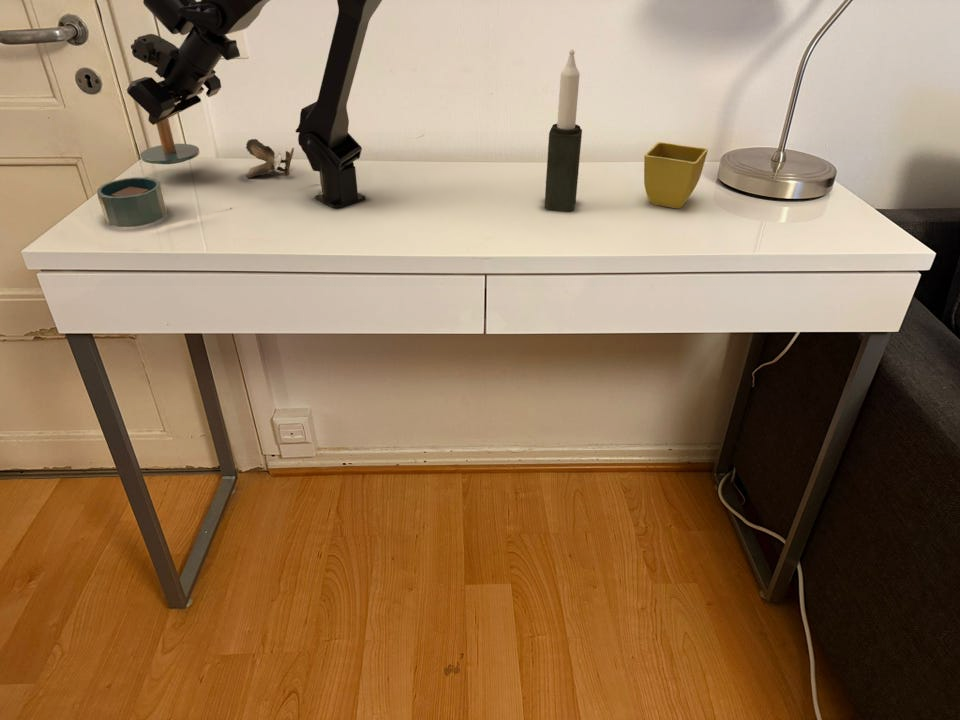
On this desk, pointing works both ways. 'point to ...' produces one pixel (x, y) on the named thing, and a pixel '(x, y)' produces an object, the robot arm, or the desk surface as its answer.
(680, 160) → the flower pot
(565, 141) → the candle
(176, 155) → the lid
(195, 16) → the robot arm
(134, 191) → the block
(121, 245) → the desk surface
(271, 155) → the eagle figurine
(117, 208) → the pot
